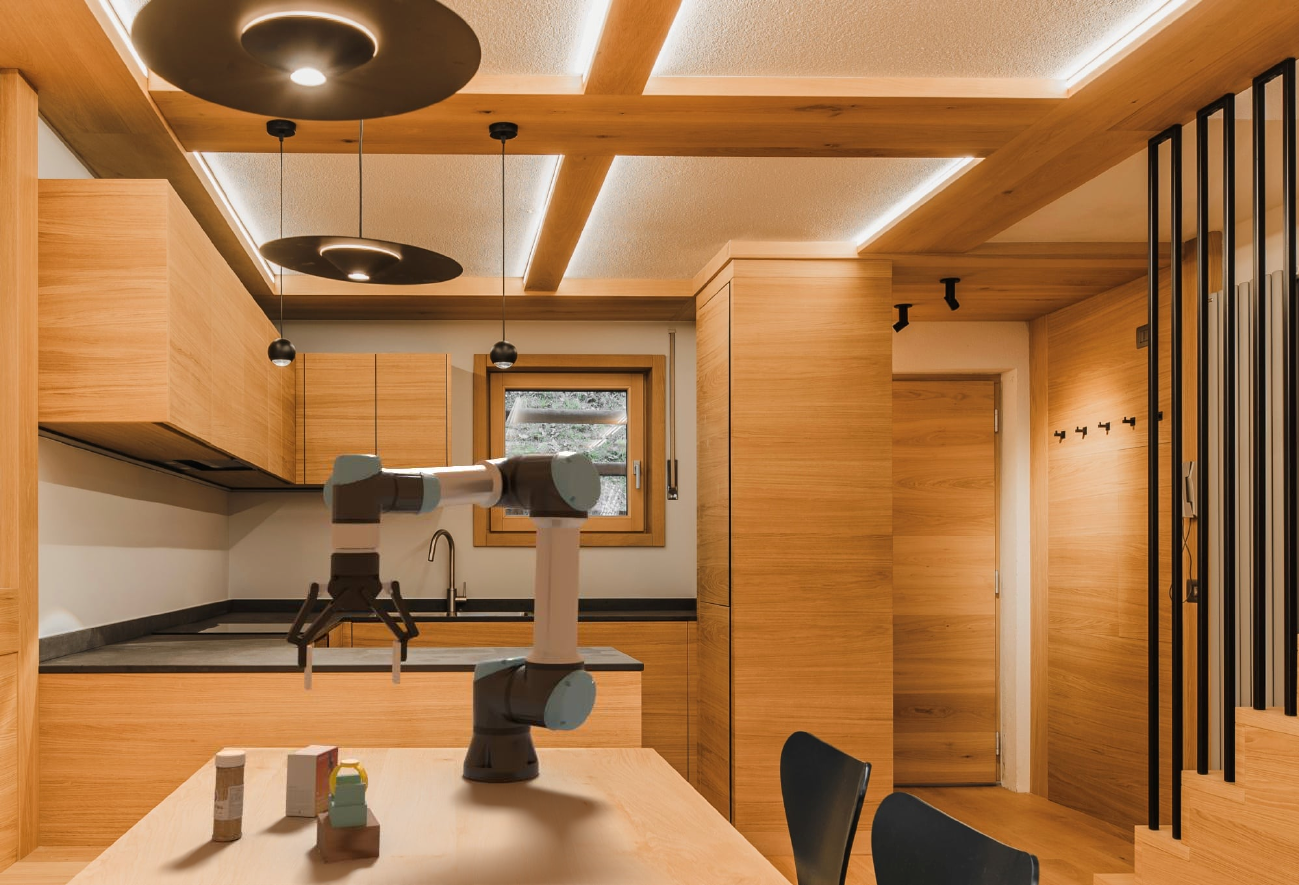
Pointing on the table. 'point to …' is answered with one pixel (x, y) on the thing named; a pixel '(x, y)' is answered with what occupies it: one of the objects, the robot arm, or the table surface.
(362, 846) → the bottom block
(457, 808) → the table surface
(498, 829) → the table surface
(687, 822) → the table surface
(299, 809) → the small box
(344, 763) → the watch
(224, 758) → the sprinkles bottle
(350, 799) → the top block
